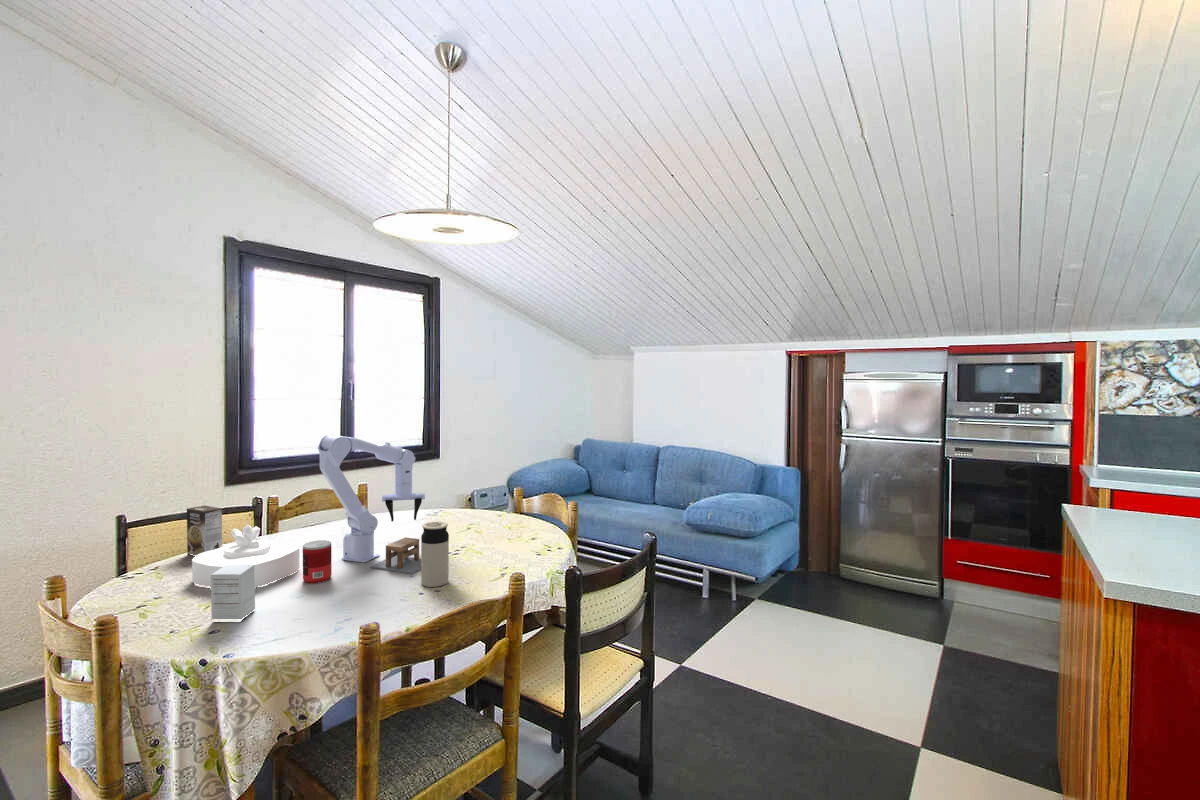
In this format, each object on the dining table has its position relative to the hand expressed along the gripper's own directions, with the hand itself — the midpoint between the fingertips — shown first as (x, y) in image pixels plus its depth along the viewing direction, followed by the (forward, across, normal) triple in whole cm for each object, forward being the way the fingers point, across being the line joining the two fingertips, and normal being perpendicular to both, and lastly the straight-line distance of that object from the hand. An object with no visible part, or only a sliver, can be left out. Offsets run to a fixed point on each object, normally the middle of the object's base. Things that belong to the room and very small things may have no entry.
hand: (403, 520), depth 209 cm
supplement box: (+10, -42, -49) cm, 65 cm away
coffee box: (+10, -65, +11) cm, 66 cm away
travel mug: (+11, +9, -38) cm, 41 cm away
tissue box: (+11, -46, -16) cm, 50 cm away
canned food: (+10, -25, -25) cm, 37 cm away
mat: (+10, 0, -19) cm, 21 cm away
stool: (+10, 0, -18) cm, 21 cm away
